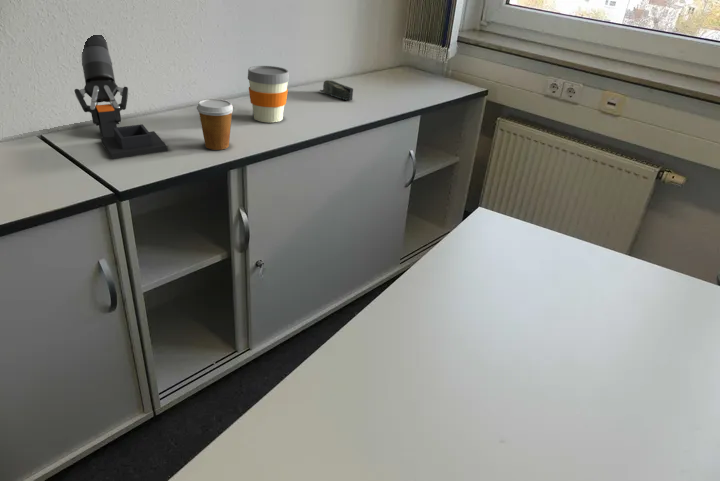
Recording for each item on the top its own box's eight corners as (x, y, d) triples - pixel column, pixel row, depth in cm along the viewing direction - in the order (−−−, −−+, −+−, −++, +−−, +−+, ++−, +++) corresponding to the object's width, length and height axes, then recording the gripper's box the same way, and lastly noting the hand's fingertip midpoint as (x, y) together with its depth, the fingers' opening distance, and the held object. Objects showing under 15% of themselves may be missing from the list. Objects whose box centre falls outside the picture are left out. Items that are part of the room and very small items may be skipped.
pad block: (103, 139, 148) (98, 110, 144) (100, 133, 152) (95, 105, 148) (118, 137, 150) (114, 109, 146) (115, 131, 154) (110, 103, 150)
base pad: (111, 159, 138) (109, 142, 135) (101, 143, 146) (98, 127, 144) (167, 151, 145) (165, 135, 142) (154, 136, 153) (152, 120, 151)
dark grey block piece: (354, 87, 193) (324, 77, 201) (349, 88, 191) (319, 78, 199) (353, 101, 196) (323, 90, 204) (347, 102, 194) (318, 91, 201)
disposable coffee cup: (240, 149, 149) (239, 106, 143) (206, 154, 144) (204, 109, 138) (226, 138, 156) (225, 97, 150) (194, 142, 151) (191, 99, 145)
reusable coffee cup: (251, 124, 165) (250, 74, 158) (245, 112, 175) (244, 65, 168) (292, 123, 169) (293, 75, 162) (283, 112, 179) (284, 65, 172)
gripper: (126, 73, 157) (136, 127, 154) (71, 75, 151) (80, 131, 148) (124, 59, 150) (135, 115, 147) (67, 60, 144) (76, 119, 141)
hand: (107, 123), depth 147 cm, fingers closed on pad block, 4 cm apart
